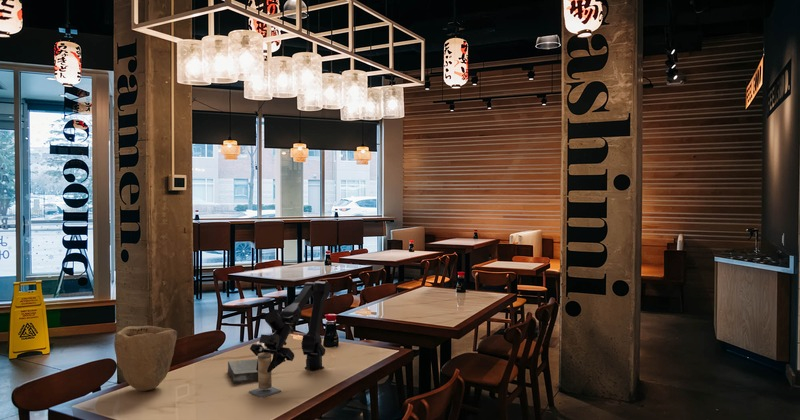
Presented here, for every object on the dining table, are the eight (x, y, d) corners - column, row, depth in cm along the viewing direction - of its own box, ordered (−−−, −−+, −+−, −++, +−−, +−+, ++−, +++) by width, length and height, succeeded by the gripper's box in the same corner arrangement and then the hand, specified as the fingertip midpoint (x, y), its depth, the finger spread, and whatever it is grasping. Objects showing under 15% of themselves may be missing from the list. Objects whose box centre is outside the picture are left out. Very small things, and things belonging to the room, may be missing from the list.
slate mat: (268, 386, 217) (268, 385, 217) (281, 391, 211) (281, 390, 211) (248, 392, 210) (248, 391, 210) (261, 397, 204) (261, 396, 204)
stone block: (234, 385, 220) (233, 373, 220) (227, 372, 238) (227, 361, 238) (267, 380, 226) (267, 368, 226) (258, 368, 244) (258, 357, 244)
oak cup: (270, 383, 214) (269, 351, 214) (273, 387, 210) (272, 354, 209) (257, 386, 212) (256, 353, 212) (259, 390, 207) (259, 356, 207)
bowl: (189, 386, 218) (188, 325, 218) (137, 404, 199) (136, 337, 199) (156, 378, 230) (155, 320, 230) (104, 393, 212) (103, 330, 211)
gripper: (252, 323, 218) (233, 358, 208) (289, 327, 210) (271, 363, 200) (265, 338, 225) (247, 372, 216) (301, 342, 217) (285, 378, 207)
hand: (262, 371), depth 209 cm, fingers closed on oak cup, 5 cm apart
